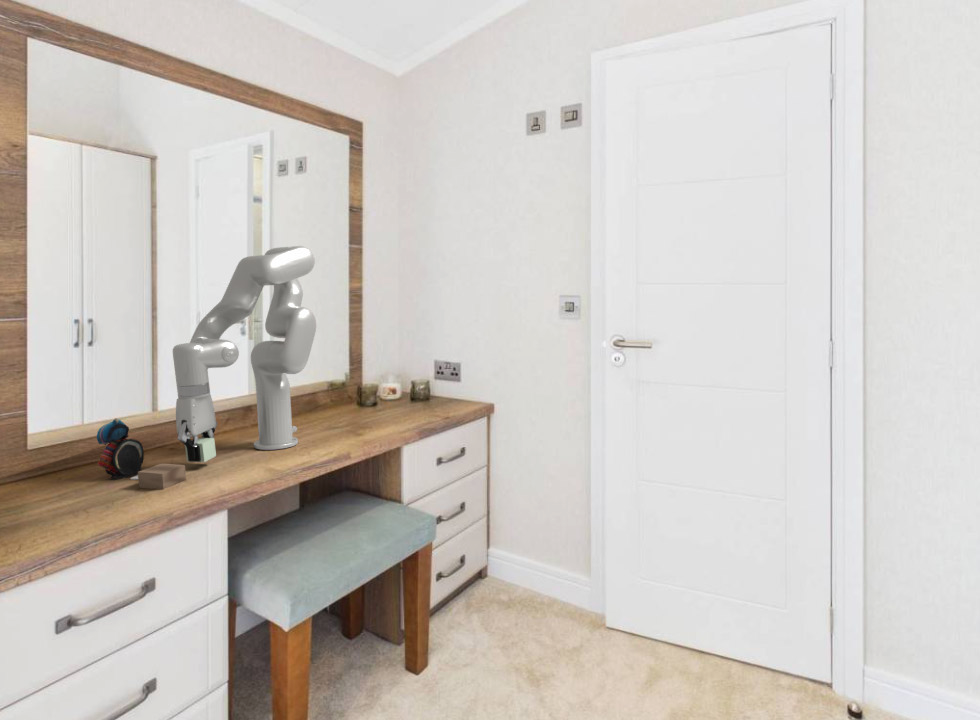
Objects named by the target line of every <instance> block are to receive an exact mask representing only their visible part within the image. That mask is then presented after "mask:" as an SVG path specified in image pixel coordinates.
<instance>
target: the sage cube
mask: <svg viewBox="0 0 980 720" xmlns="http://www.w3.org/2000/svg"><path fill="white" fill-rule="evenodd" d="M191 440H192V441H193V439H191ZM197 446H199V449H200V458H201V460H200V461H199V462H198V463H206V462H207V461H209V460H211V459H213V458H216V457H217V453H216V452H217V451H216V443H215V437H214V438H202V437H198V441H197ZM184 448H185V456H186V462H187V463H196V462H195V461H188V454H187V447H185V446H184Z"/></svg>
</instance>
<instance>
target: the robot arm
mask: <svg viewBox="0 0 980 720" xmlns="http://www.w3.org/2000/svg"><path fill="white" fill-rule="evenodd" d="M315 263H316V262H315V257H314V253H313V252H312V251H311V250H310V249H309V248H308V247H306V246H302V245H297V246H296V245H295V246H281V247H273V248H271V249H270V248H269V250H266V252H265V253H264V254H263V255H262V254H261V255H250V256H245V257H243V258H242V259H241V260H240V261H239V262H238V264H237V265H236V267H235V269H234V272H233V274H232V275H231V278H230V281H229V283H228V284H227V287H226V289H225V291H224V293H223V295H222V298H221V300H220V301H219V302H218V303H217V304H216V305H215V306H214V307H213V308H212V309H211V310H210V311H208V313H207V314H206V315H205V316H204V317H203V318H201V321H199V323H198V324H197V326H196V328H195V330H194V333H193V335H192V336H191V339H190V342H188V343H187V342H185V343H180V344H176V345H174V346H173V348H172V357H173V358H172V359H173V366H174V367H173V369H174V375H175V376H174V377H175V383H176V392H177V399H176V401H175V402H176V403H175V423H176V425H175V426H176V433H177V435H178V436H177V440H178V441H179V442H181V443H182V444H183V445H184V448H185V447H187V454H188V461H195V462H194V463H200V462H199V461H200V460H201V458H200V449H199V446H197V441H198V438H199V435H200V436H201V438H214V439H215V436H214V434H215V431H216V428H217V426H218V422H217V420H216V413H215V407H214V406H215V405H214V402H213V398H212V394H211V389H210V388H211V387H210V380H209V379H210V377H209V371H208V369H211V368H212V369H216V368H220V369H221V368H227V367H230V366H232V365H233V364H235V363H236V361H237V360H238V359H239V354H240V351H239V348H238V346H237V345H236V344H235V343H234V342H232V340H231V341H230V340H229V339H228V340H227V339H223V338H222V339H221V337H222V336H223V334H224V333H225V332H226V331H227V330H228V329H229V328H230V327H231V326H233V325H235V324H237V323H239V322H241V321H243V320H244V319H246V318H248V317H249V316H251V315H252V313H253V311H254V309H255V307H256V305H257V302H258V301H259V298H260V295H261V293H262V291H263V289H264V287H265V286H273V293H272V296H271V297H272V298H271V300H270V301H271V302H270V305H269V309H268V311H267V315H266V319H265V324H264V326H265V331H266V333H267V334H268V335H269V336H271V337H273V338H277V339H284V341H283V340H282V341H281V340H264V341H260V342H259V343H257V344H255V345H254V347H253V348H252V350H251V352H250V363H251V369H252V372H253V375H254V376H253V377H254V380H255V382H254V383H255V394H256V412H257V428H258V440H256V441H254V443H253V448H255V449H257V450H262V451H263V450H265V451H267V450H268V451H270V450H271V451H274V450H275V451H276V450H282V449H287V448H291V447H294V446H296V445H297V444H298V443H299V439H298V438H297V437H295V436H293V434H294V433H296V432H297V430H298V428H297V426H296V425H293V423H292V421H293V420H292V405H291V404H292V403H291V402H292V401H291V387H290V382H289V378H288V375H296V374H299V373H301V372H302V371H303V370H304V369H305V368H306V366H307V364H308V361H309V357H310V354H311V351H312V347H313V343H314V340H315V336H316V331H317V320H316V316H315V314H314V312H312V310H310V309H309V308H308V307H304V306H302V301H303V296H304V293H303V288H302V284H301V282H300V281H299V279H298V278H302V277H304V276H306V275H308V274H309V273H311V272H312V271H313V268H314V266H315ZM191 438H192V439H191ZM192 440H193V441H192Z"/></svg>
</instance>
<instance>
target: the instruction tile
mask: <svg viewBox="0 0 980 720" xmlns="http://www.w3.org/2000/svg"><path fill="white" fill-rule="evenodd" d="M130 480H137V481H138V474H136V475H133V476H131V477H130Z"/></svg>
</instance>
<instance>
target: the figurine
mask: <svg viewBox="0 0 980 720" xmlns="http://www.w3.org/2000/svg"><path fill="white" fill-rule="evenodd" d="M129 431H130V428H129V426H128V425H127V424H126V423H124V422H123V421H122V420H121V419H118V418H116V417H115V418H114V419H113V420H112V421H110V422H109V423H106V424H104V425H101V426H100V428H99V429H98V430H97V434H96V440H97V444H99V445H104V446H105V445H107V446H106V447H105V448H104V450H103V451H102V453H101V455H100V457H99V459H98V463H97V464H98V466H99V467H102V468H103V469H104V470H105V472H106V475H110V479H111V480H112V481H116V480H122V479H125V478H128V477H134V476H136V475H138V472H139V471H142V470H143V469H142V465H143V463H144V459H145V455H144V453H145V452H144V447H143V444H142V443H141V442H140V440H137V439H134V438H133V439H132V438H129ZM127 438H128V439H127Z"/></svg>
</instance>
